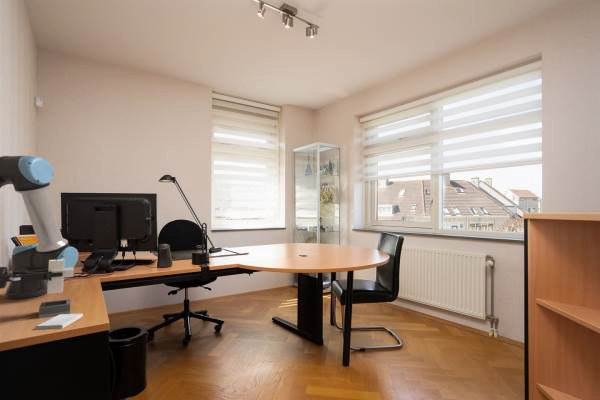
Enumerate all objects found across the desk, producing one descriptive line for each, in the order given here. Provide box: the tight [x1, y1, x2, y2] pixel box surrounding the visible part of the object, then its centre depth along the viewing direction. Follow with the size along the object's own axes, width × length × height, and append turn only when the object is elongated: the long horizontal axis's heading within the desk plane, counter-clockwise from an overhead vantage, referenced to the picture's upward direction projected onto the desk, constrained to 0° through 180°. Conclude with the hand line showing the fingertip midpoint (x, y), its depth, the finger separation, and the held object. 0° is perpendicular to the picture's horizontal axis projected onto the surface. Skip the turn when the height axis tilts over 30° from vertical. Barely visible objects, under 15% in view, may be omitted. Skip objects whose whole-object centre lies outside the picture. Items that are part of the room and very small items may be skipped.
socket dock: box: [38, 298, 72, 319], centre depth 118 cm, size 9×9×4 cm
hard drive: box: [34, 313, 84, 330], centre depth 108 cm, size 2×8×12 cm
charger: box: [46, 259, 65, 295], centre depth 118 cm, size 4×4×12 cm
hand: (73, 271), depth 122 cm, fingers closed on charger, 4 cm apart
